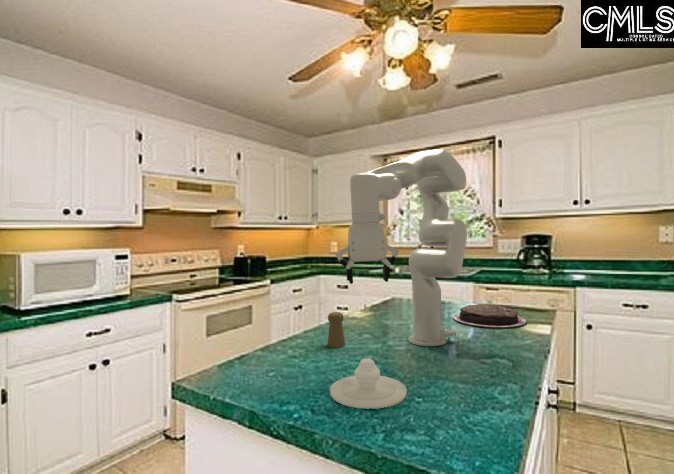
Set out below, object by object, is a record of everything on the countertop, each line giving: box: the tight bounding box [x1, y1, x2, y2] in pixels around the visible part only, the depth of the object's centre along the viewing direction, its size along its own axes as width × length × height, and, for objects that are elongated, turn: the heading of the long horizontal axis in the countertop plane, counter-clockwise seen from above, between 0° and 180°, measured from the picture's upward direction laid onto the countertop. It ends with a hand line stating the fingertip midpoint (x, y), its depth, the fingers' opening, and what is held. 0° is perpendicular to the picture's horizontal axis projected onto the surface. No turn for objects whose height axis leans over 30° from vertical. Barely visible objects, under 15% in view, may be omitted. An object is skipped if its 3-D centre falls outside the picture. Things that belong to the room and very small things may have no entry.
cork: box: [326, 311, 346, 349], centre depth 136 cm, size 6×6×11 cm
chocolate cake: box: [453, 303, 527, 330], centre depth 166 cm, size 28×28×7 cm
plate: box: [329, 375, 407, 409], centre depth 96 cm, size 18×18×1 cm
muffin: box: [353, 358, 381, 390], centre depth 96 cm, size 6×6×7 cm
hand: (368, 282), depth 111 cm, fingers open, 9 cm apart
